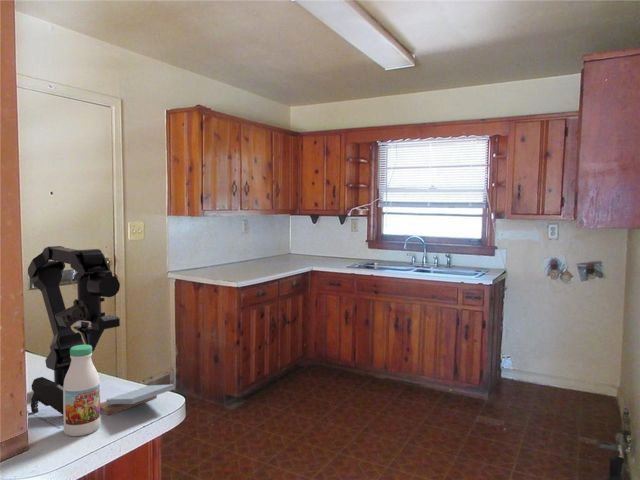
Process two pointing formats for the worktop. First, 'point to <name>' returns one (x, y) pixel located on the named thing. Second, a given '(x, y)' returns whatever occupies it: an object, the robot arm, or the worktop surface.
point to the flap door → (140, 394)
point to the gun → (47, 394)
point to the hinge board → (119, 406)
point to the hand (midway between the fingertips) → (91, 351)
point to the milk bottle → (81, 393)
